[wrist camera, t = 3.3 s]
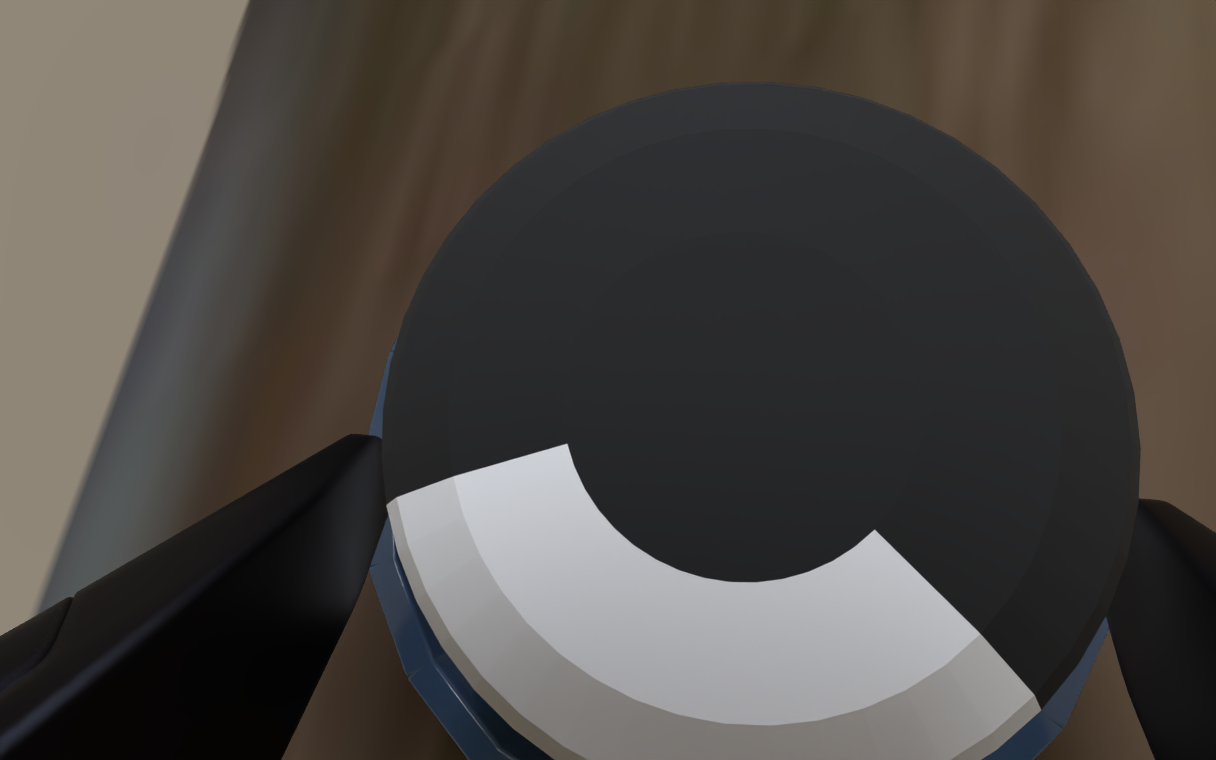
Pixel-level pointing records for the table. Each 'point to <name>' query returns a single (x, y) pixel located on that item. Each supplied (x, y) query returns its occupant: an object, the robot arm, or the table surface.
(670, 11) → the table surface
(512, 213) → the medicine bottle
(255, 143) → the table surface
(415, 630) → the blue round bowl
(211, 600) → the robot arm
